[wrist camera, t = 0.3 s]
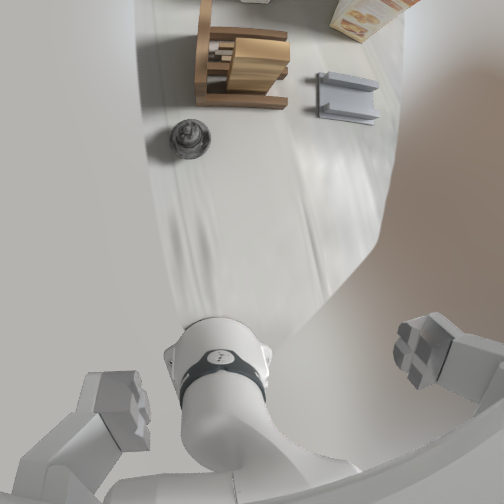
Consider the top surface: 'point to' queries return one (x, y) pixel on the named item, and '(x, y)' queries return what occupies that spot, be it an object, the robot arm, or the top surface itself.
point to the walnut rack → (221, 69)
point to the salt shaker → (190, 139)
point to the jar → (256, 1)
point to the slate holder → (347, 98)
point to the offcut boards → (224, 52)
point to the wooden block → (256, 65)
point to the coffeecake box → (366, 16)
